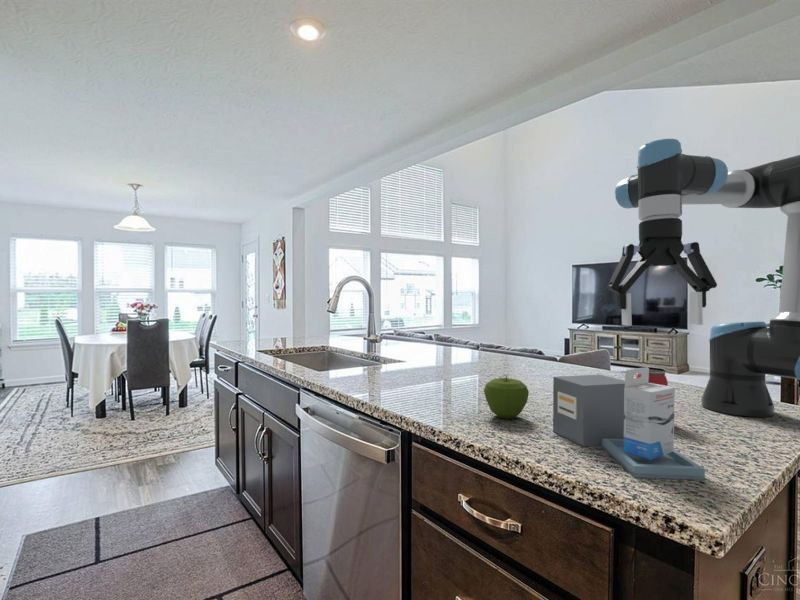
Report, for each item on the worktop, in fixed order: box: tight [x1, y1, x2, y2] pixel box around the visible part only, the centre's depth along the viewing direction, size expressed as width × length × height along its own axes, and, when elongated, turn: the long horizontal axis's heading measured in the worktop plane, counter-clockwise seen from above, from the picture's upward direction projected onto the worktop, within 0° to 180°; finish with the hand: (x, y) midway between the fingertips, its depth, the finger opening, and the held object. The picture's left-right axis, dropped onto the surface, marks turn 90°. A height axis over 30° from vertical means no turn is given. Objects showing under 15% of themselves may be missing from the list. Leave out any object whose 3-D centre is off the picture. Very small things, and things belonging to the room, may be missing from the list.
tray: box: [601, 438, 706, 481], centre depth 77 cm, size 11×14×2 cm
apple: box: [483, 376, 530, 420], centre depth 106 cm, size 11×10×10 cm
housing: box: [552, 374, 625, 447], centre depth 92 cm, size 13×10×12 cm
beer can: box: [635, 369, 669, 386], centre depth 103 cm, size 7×7×12 cm
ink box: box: [624, 366, 676, 460], centre depth 77 cm, size 8×5×15 cm, turn 124°
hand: (661, 325), depth 88 cm, fingers open, 13 cm apart
